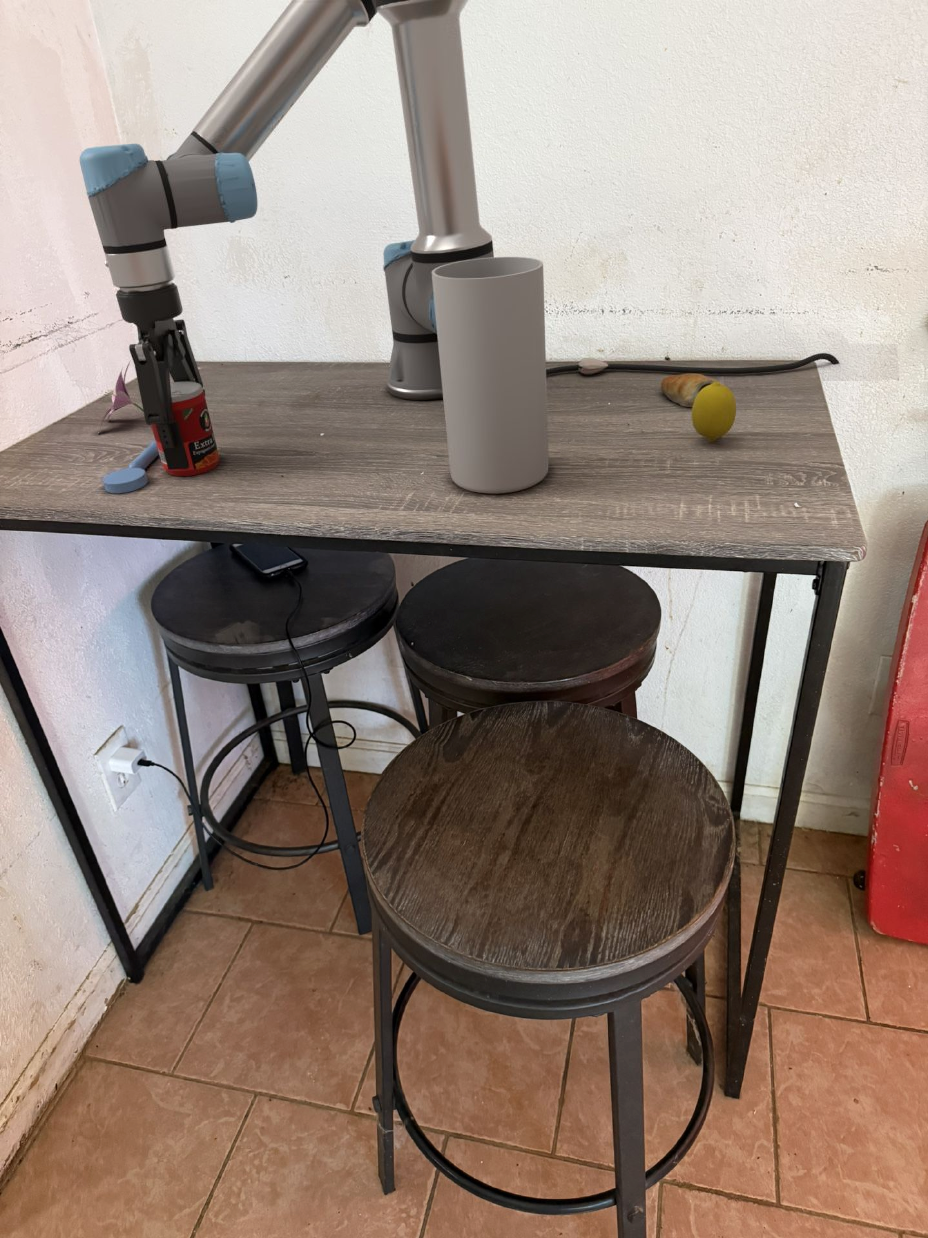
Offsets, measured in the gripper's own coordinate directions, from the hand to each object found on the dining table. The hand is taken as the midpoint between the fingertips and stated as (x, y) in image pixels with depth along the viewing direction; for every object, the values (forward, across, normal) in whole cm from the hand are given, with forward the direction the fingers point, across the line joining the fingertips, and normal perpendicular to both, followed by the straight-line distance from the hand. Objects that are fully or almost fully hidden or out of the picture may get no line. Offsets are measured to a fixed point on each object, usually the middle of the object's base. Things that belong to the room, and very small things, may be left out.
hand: (190, 455), depth 118 cm
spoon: (+2, -2, -7) cm, 8 cm away
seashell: (+2, -33, +58) cm, 67 cm away
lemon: (+2, +1, +72) cm, 72 cm away
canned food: (+2, 0, 0) cm, 2 cm away
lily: (+2, -21, -18) cm, 28 cm away
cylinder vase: (+2, +9, +44) cm, 44 cm away
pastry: (+2, -17, +72) cm, 74 cm away
